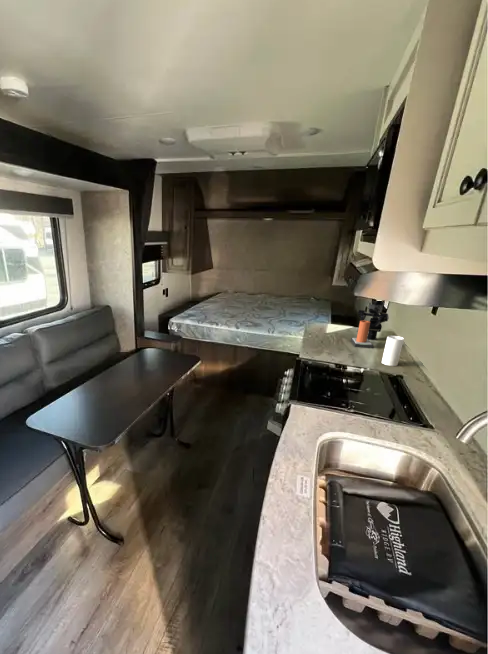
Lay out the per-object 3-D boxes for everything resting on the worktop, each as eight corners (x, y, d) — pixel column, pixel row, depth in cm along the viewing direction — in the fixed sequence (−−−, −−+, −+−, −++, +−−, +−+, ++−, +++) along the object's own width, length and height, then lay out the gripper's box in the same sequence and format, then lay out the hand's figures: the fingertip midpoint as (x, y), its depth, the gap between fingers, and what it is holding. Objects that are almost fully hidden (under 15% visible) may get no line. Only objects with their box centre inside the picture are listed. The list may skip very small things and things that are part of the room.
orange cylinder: (356, 339, 232) (360, 320, 226) (366, 340, 229) (370, 321, 224) (355, 341, 227) (359, 321, 221) (366, 343, 224) (370, 322, 219)
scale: (350, 340, 238) (351, 337, 237) (367, 341, 235) (368, 338, 234) (354, 346, 224) (355, 343, 223) (372, 348, 222) (373, 344, 221)
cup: (399, 366, 190) (406, 339, 184) (384, 365, 192) (390, 339, 186) (394, 361, 198) (400, 335, 192) (379, 360, 199) (385, 335, 193)
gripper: (361, 298, 229) (352, 316, 226) (390, 301, 216) (381, 320, 213) (363, 307, 237) (354, 325, 234) (392, 311, 224) (383, 330, 221)
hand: (367, 325), depth 225 cm, fingers open, 9 cm apart
